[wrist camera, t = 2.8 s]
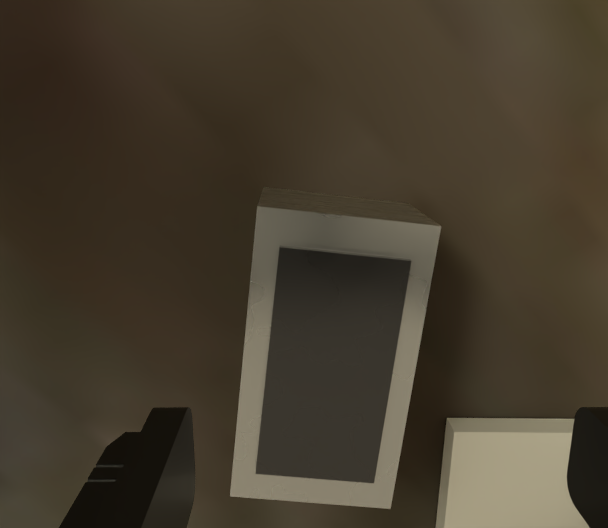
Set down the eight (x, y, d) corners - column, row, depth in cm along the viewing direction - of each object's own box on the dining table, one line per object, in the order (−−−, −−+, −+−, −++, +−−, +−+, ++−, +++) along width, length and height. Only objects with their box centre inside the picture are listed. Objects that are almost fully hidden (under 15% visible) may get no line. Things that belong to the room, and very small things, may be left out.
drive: (241, 419, 21) (229, 500, 17) (263, 186, 19) (256, 207, 15) (369, 430, 22) (391, 513, 17) (406, 202, 19) (443, 227, 15)
